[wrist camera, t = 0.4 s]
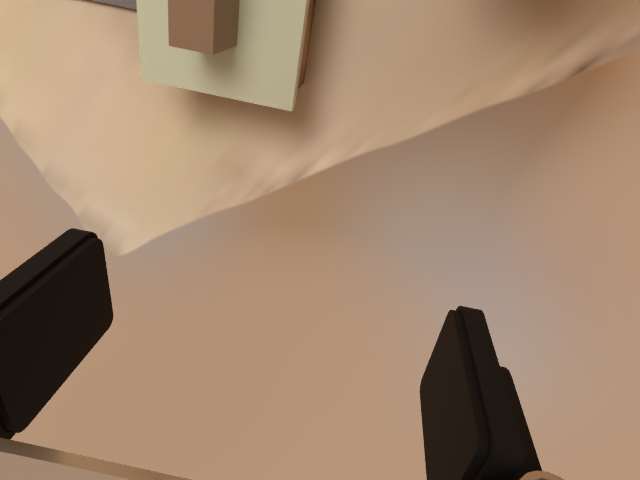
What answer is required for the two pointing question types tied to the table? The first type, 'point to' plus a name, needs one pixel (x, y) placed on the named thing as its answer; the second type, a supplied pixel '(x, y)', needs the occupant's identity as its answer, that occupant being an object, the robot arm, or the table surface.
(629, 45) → the table surface
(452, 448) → the robot arm
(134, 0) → the mat
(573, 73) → the table surface
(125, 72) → the table surface
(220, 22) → the lid
